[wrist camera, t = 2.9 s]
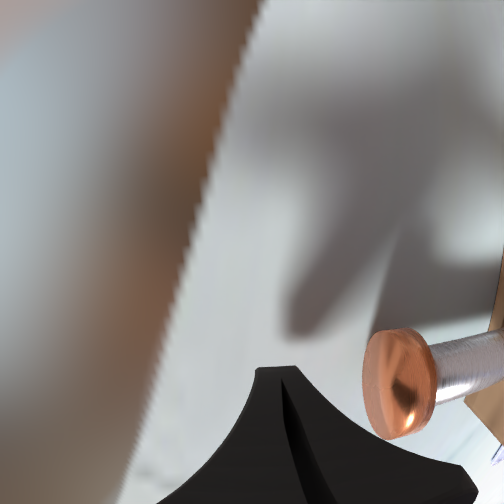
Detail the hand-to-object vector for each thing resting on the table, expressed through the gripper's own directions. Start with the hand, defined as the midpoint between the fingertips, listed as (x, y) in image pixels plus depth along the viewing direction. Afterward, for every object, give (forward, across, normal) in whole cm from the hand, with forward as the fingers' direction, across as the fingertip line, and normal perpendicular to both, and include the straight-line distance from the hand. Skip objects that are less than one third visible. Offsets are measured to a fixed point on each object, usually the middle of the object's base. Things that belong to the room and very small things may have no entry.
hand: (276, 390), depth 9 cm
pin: (+1, -10, 0) cm, 10 cm away
